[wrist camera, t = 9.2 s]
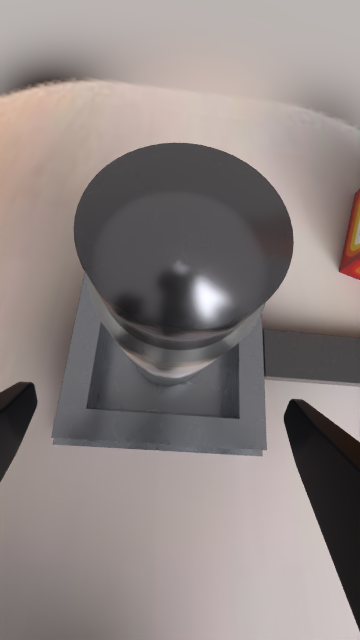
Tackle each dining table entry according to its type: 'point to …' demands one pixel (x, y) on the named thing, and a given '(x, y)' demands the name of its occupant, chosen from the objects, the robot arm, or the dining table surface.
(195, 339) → the steel vacuum flask
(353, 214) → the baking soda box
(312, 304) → the dining table surface
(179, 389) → the grey tray with handle
